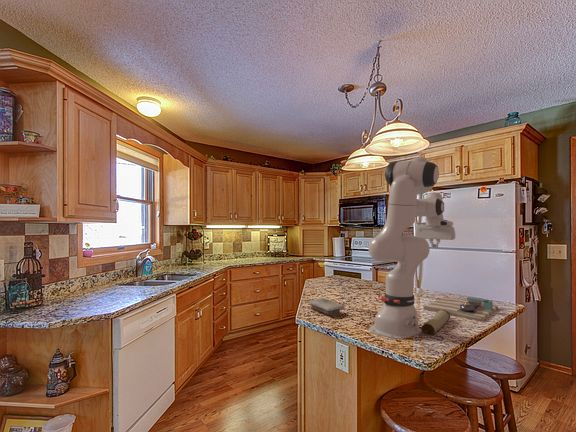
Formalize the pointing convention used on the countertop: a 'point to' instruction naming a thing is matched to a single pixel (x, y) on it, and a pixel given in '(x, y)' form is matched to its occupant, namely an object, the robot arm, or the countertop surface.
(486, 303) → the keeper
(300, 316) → the countertop surface
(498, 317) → the countertop surface
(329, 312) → the packaged product
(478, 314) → the board
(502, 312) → the countertop surface
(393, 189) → the robot arm
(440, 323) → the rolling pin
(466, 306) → the lever
